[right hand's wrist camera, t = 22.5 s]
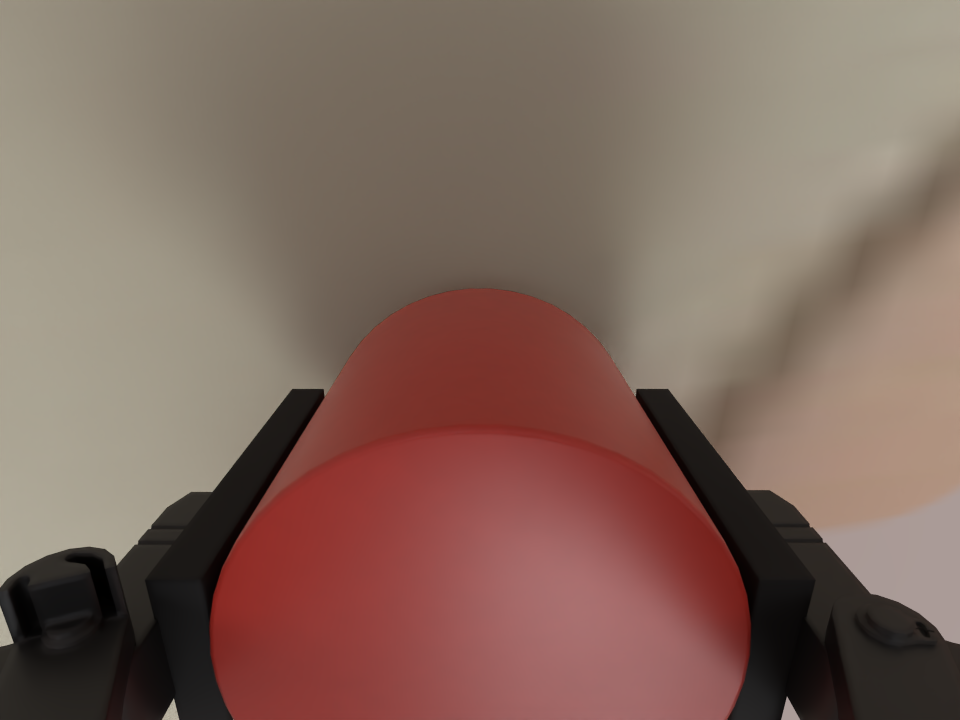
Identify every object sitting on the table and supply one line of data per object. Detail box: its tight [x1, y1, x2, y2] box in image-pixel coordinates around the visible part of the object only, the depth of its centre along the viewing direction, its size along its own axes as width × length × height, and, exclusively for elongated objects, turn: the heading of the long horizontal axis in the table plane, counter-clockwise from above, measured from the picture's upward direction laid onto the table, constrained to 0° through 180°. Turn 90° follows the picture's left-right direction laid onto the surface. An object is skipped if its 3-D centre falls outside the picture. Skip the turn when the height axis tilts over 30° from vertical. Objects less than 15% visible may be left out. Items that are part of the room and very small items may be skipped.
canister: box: [209, 289, 751, 720], centre depth 11 cm, size 8×8×7 cm
